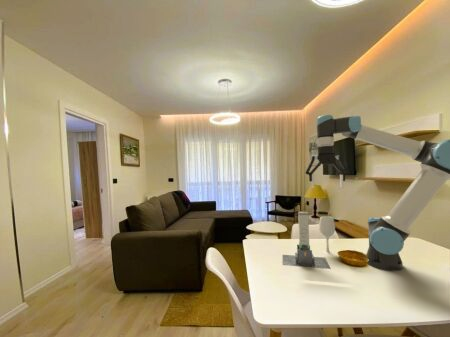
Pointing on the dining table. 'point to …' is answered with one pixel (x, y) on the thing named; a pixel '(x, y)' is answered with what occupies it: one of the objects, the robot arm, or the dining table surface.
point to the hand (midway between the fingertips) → (327, 187)
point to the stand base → (305, 259)
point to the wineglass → (327, 228)
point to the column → (303, 230)
